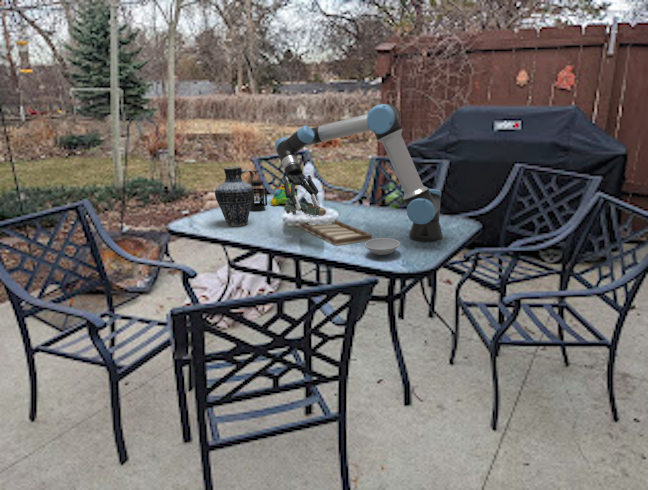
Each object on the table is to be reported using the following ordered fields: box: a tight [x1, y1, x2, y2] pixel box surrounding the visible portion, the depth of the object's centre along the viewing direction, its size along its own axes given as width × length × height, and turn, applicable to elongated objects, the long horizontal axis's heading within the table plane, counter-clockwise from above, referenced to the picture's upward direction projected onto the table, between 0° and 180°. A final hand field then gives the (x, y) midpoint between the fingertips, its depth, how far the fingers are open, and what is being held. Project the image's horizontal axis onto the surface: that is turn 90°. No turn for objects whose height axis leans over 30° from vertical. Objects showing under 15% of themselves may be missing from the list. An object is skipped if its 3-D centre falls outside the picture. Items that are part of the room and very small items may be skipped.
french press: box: [247, 170, 268, 213], centre depth 289 cm, size 12×9×23 cm
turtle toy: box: [270, 183, 297, 207], centre depth 309 cm, size 17×23×12 cm
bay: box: [299, 219, 373, 247], centre depth 241 cm, size 37×19×2 cm, turn 28°
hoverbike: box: [283, 196, 327, 219], centre depth 221 cm, size 10×25×8 cm, turn 48°
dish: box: [363, 237, 401, 256], centre depth 208 cm, size 18×14×5 cm
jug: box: [214, 165, 255, 227], centre depth 255 cm, size 21×19×30 cm
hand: (308, 208), depth 219 cm, fingers closed on hoverbike, 8 cm apart
